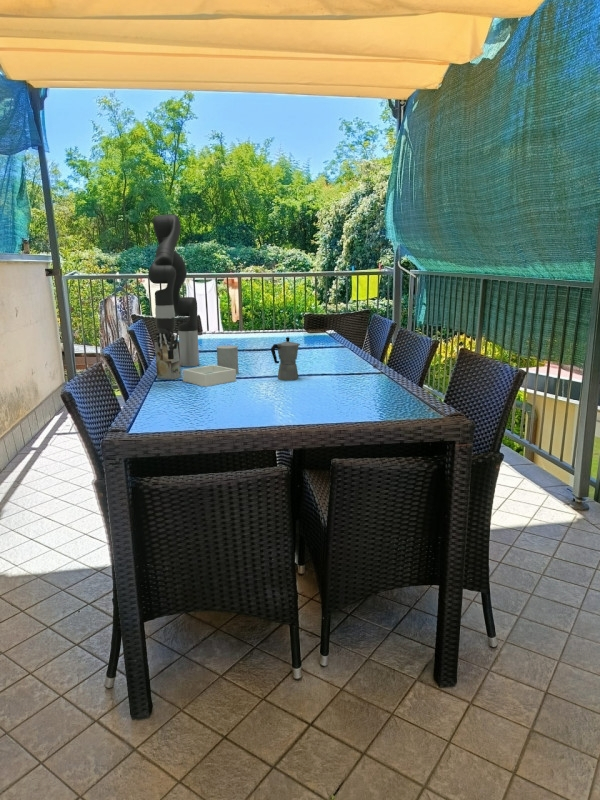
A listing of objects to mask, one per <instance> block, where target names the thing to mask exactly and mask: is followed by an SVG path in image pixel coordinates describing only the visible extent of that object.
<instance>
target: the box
mask: <svg viewBox="0 0 600 800" xmlns="http://www.w3.org/2000/svg"><path fill="white" fill-rule="evenodd" d="M182 382H185V383H189V384H194V385H196V386H201V387H205V388H206V387H210V386H216V385H221V384H227V383H228V384H229V383H233V382H237V375H236V369H231V368H226V367H221V366H217V364H215V365H214V364H210V365H205V366H195V367H192V368H191V367H190V368H183V369H182Z"/></svg>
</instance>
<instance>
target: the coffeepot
mask: <svg viewBox="0 0 600 800" xmlns="http://www.w3.org/2000/svg"><path fill="white" fill-rule="evenodd" d="M285 340H286V341H283V342H280V343H274V344H273V345H272V346H271V348H270V351H271V354H272V359H273V361H274V364H279V365H278V372H277V380H280V381H284V382H286V381H296V380H298V379H299V372H298V367H297V362H296V361H297V359H298V353H299V346H300V345H301V343H299V342H293V341H290V337H288V336H287V337H285ZM276 349H277V352H278V353H277V354H278V357H277V355H276ZM277 359H279V360H277Z"/></svg>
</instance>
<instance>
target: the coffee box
mask: <svg viewBox="0 0 600 800" xmlns="http://www.w3.org/2000/svg"><path fill="white" fill-rule="evenodd" d="M160 344H161V343H160ZM169 345H170V344H169ZM154 349H155V350H154V353H155V354H154V355H155V363H156V364H155V365H156V376H157V377H156V378H157V379H161V380H162V379H163V380H165V379H166V380H176V379H180V378H182V366H181V364H180V348H179V340H178V341H177V348H176V349H174V350H173V354H174V359H173V361H163V358H162V349H161V348H160V347H158V344H157V341H154Z"/></svg>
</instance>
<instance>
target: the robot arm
mask: <svg viewBox="0 0 600 800" xmlns="http://www.w3.org/2000/svg"><path fill="white" fill-rule="evenodd" d="M152 225H153V226H152V227H153V231H154V234H155V237H156V241H157V243H158V246H157V249H156V252H155V258H154V260H153V262H152V263H151V265H150V267H149V269H148V272H147V273H148V279H149V281H150V283H152V284H160V285H161V284H164V285H165V284H166V287H165V288H162V289H159V290H156V291H155V292H154V303H155V305H154V306H155V310H154V311H155V313H154V314H155V327H156V329H158V332H155V333H154V334H155V340H156V342H157V344H158V347H160V348H161V349H162V346H163V345H167V349H168V359H169V360H171V359H174V354H173V350H174V349H176V348H177V341H179V348H180V364H181V367H186V368H187V367H190V368H191V367H199V365H200V355H199V354H200V353H199V349H200V348H199V336H198V333H199V332H198V329H199V328H198V300H197V298H196V297H195V296H194V297H192V296H186V297H185V296H181V295H180V292H181V289H182V286H183V285H184V282H185V281H186V278H187V275H188V272H187V268H186V263H185V261H184V259H183V257H182V256H181V255H180V253H178V252H177V251H176V247H177V244H178V241H179V238H180V236H181V228H182V227H181V221H180V218H179V216H178V215H177V214H162V215H161V214H160V215H155V216H153V218H152ZM176 316H177V317H188V320H187V321H185V322H183V323H180V324H178V327H177V329H178V331H177V332H178V334H175V333H174V329H175V328H176ZM160 343H161V344H160ZM169 344H170V346H169ZM162 358H163V352H162Z"/></svg>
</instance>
